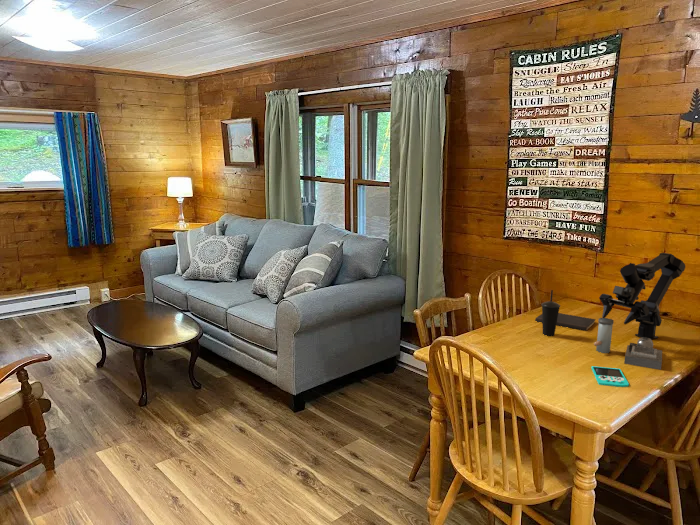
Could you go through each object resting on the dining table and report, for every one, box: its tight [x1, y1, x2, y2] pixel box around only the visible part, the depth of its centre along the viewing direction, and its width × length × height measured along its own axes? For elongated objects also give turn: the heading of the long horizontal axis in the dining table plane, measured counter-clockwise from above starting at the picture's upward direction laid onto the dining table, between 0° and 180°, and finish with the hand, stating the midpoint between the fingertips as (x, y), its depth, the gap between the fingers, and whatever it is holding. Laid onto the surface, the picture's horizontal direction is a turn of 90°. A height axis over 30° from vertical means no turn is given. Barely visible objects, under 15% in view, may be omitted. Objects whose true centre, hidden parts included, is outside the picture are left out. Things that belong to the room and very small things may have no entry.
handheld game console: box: [591, 365, 630, 388], centre depth 190 cm, size 10×16×1 cm, turn 165°
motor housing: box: [623, 337, 663, 371], centre depth 208 cm, size 20×12×6 cm, turn 150°
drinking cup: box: [541, 289, 561, 337], centre depth 234 cm, size 8×8×20 cm
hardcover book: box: [534, 312, 596, 332], centre depth 253 cm, size 16×23×2 cm
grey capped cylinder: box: [593, 317, 615, 354], centre depth 214 cm, size 8×5×13 cm, turn 123°
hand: (613, 320), depth 216 cm, fingers open, 9 cm apart
